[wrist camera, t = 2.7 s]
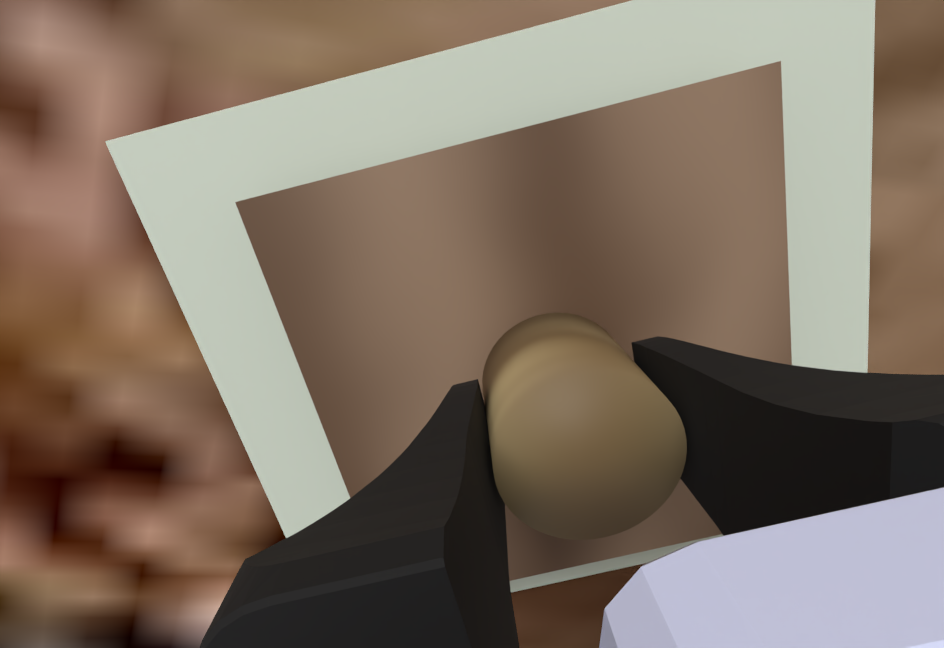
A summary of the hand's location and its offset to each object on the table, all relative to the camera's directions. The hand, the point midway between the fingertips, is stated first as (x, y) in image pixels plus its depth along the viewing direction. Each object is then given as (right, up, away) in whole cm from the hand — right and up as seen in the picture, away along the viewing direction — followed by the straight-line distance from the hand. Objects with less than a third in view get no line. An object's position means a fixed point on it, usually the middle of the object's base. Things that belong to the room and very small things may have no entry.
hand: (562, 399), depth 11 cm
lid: (0, 0, +2) cm, 2 cm away
